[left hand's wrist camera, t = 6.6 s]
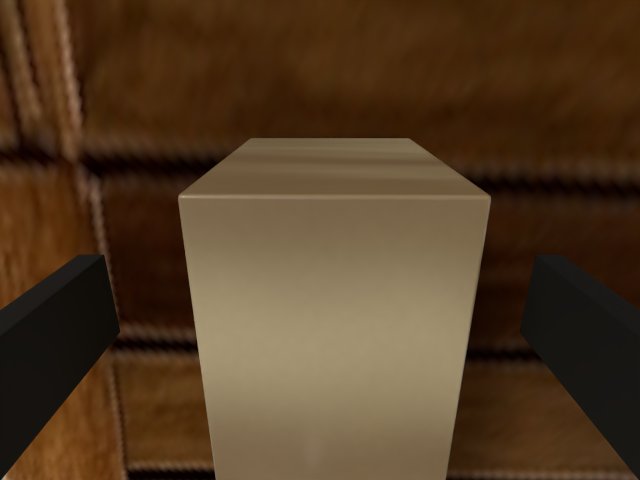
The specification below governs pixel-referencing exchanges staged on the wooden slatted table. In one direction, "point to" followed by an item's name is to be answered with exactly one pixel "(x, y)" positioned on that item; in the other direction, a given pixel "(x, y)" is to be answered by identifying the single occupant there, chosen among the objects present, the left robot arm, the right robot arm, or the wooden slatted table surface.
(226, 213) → the birch beam
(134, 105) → the wooden slatted table surface
